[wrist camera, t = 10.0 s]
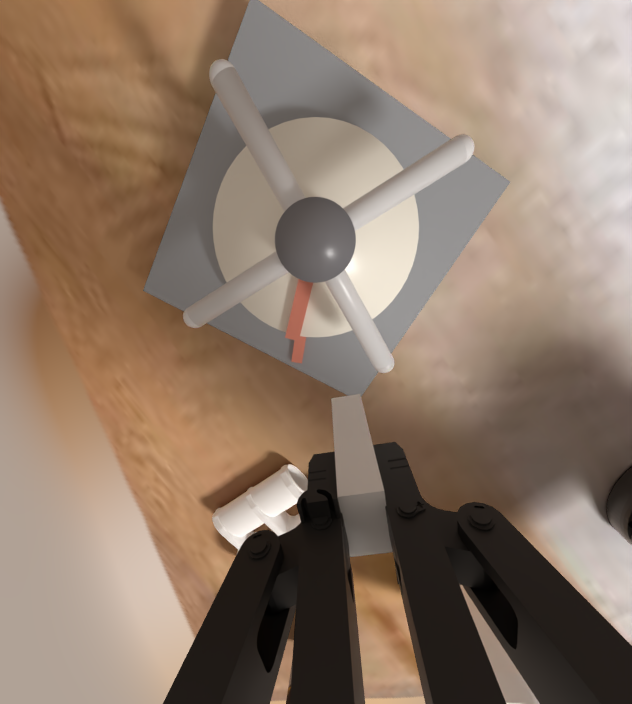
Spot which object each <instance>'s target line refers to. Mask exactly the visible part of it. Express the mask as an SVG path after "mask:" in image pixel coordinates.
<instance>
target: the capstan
mask: <svg viewBox="0 0 632 704" xmlns="http://www.w3.org/2000/svg"><path fill="white" fill-rule="evenodd" d="M209 78H210V82H211V85H212V87H213V89H214V90H215V92H216V94H217V95H218V97H219V99H220V101H221V102H222V104H223V106H224V108H225V109H226V111H227V113H228V115H229V116H230V118H231V120H232V122H233V123H234V125H235V127H236V128H237V130H238V132H239V134H240V135H241V137H242V139H243V141H244V142H245V144H246V147H245V148H244V149H243V150H242V151H241V152H240V153H239V155H238V156H237V157H236V158H235V160H234V161H233V163H232V164H231V166H230V167H229V169H228V170H227V172H226V174H225V176H224V179H223V181H222V183H221V185H220V188H219V191H218V194H217V197H216V202H215V208H214V214H213V241H214V247H215V252H216V257H217V260H218V263H219V266H220V269H221V271H222V274H223V276H224V278H225V280H226V282H227V283H225V284H224V285H222V286H221V287H219V288H218V289H216V290H215V291H213V292H211V293H210V294H208V295H207V296H205V297H204V298H202V299H200V300H199V301H197V302H196V303H194V304H193V305H191V306H190V307H188V308H187V309H186V310H185V311H184V313H183V320H184V322H185V323H186V324H187V325H188V326H189V327H192V328H199V327H201V326H203V325H205V324H206V323H208V322H209V321H211V320H213V319H214V318H216V317H217V316H219V315H221V314H222V313H224V312H225V311H227V310H229V309H230V308H232V307H234V306H235V305H237V304H238V303H240V302H241V304H242V305H243V306H244V307H245V308H246V309H247V310H248V311H249V312H251V313H252V314H253V315H254V316H256V317H257V318H258V319H259V320H261V321H263V322H264V323H266V324H268V325H269V326H271V327H273V328H276V329H278V330H280V331H283V332H286V335H285V338H288V339H292V340H296V341H299V338H300V336H303V337H329V336H334V335H339V334H343V333H346V332H349V331H352V330H353V332H354V333H355V335H356V337H357V339H358V340H359V342H360V344H361V346H362V347H363V349H364V351H365V352H366V354H367V356H368V358H369V359H370V361H371V363H372V365H373V366H374V368H375V369H376V370H377V371H378V372H381V373H387V372H389V371H391V370H392V368H393V367H394V359H393V356H392V355H391V353H390V351H389V349H388V347H387V345H386V344H385V342H384V340H383V338H382V336H381V334H380V333H379V331H378V329H377V327H376V325H375V323H374V322H373V320H372V319H374V318H375V317H376V316H377V315H379V314H380V313H381V312H382V311H383V310H384V309H385V308H386V307H387V306H388V305H389V304H390V303H391V302H392V301H393V300H394V298H395V297H396V296H397V294H398V293H399V292H400V290H401V289H402V287H403V285H404V283H405V282H406V280H407V278H408V275H409V273H410V271H411V268H412V266H413V262H414V259H415V255H416V251H417V245H418V239H419V218H418V208H417V204H416V199H415V195H414V194H416V193H418V192H419V191H421V190H422V189H424V188H426V187H427V186H429V185H430V184H432V183H434V182H435V181H437V180H438V179H440V178H442V177H443V176H445V175H447V174H448V173H450V172H451V171H453V170H455V169H456V168H458V167H459V166H461V165H463V164H464V163H466V162H467V161H468V160H469V159H470V158H471V156H472V154H473V152H474V142H473V140H472V138H471V137H470V136H468V135H465V134H461V135H457V136H455V137H454V138H452V139H450V140H449V141H447V142H446V143H444V144H443V145H441V146H440V147H438V148H436V149H435V150H433V151H432V152H430V153H429V154H427V155H425V156H424V157H422V158H421V159H419V160H418V161H416V162H415V163H413V164H411V165H410V166H408V167H407V168H405V169H403V167H402V166H401V164H400V163H399V162H398V160H397V159H396V157H395V156H394V155H393V154H392V152H391V151H390V150H389V149H388V148H387V147H386V146H385V145H384V144H383V143H382V142H380V141H379V140H378V139H377V138H375V137H374V136H373V135H372V134H370V133H368V132H367V131H365V130H363V129H361V128H360V127H358V126H355V125H353V124H350V123H348V122H345V121H341V120H337V119H332V118H323V117H309V118H299V119H295V120H291V121H287V122H284V123H281V124H279V125H277V126H274V127H272V128H270V129H268V128H267V126H266V124H265V122H264V120H263V118H262V117H261V115H260V113H259V111H258V109H257V108H256V106H255V104H254V102H253V100H252V98H251V97H250V95H249V93H248V91H247V89H246V87H245V86H244V84H243V82H242V80H241V78H240V76H239V75H238V73H237V71H236V69H235V68H234V66H233V65H232V64H231V63H230V62H229V61H227V60H225V59H218V60H216V61H214V62H213V63H212V65H211V67H210V70H209Z"/></svg>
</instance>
